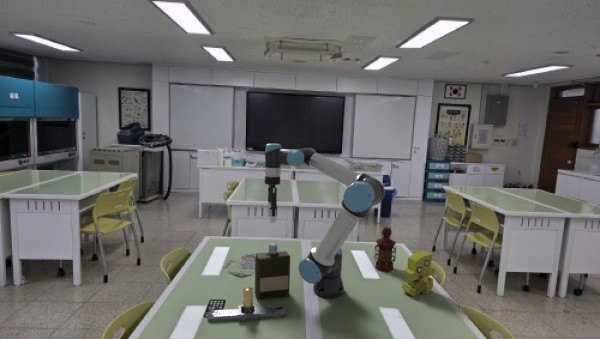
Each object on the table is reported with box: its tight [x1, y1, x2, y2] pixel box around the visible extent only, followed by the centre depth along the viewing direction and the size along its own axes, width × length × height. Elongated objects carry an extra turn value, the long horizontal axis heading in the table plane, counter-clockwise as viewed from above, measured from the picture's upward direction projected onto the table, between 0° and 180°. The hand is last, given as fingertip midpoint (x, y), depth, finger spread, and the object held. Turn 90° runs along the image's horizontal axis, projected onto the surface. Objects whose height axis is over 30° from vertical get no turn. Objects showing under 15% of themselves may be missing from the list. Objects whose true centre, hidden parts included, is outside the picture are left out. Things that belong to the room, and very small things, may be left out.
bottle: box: [254, 242, 291, 300], centre depth 174 cm, size 8×16×25 cm, turn 106°
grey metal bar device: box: [207, 303, 287, 323], centre depth 155 cm, size 33×8×3 cm, turn 100°
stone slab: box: [223, 253, 256, 277], centre depth 212 cm, size 27×33×1 cm
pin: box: [242, 286, 254, 313], centre depth 155 cm, size 4×4×12 cm
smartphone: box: [203, 298, 226, 319], centre depth 161 cm, size 7×1×15 cm
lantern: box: [373, 216, 397, 273], centre depth 209 cm, size 12×12×30 cm
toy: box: [401, 249, 436, 297], centre depth 181 cm, size 16×6×20 cm, turn 115°
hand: (271, 218), depth 179 cm, fingers open, 13 cm apart
